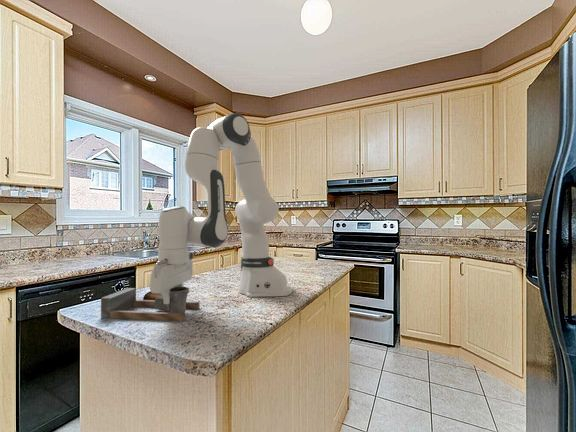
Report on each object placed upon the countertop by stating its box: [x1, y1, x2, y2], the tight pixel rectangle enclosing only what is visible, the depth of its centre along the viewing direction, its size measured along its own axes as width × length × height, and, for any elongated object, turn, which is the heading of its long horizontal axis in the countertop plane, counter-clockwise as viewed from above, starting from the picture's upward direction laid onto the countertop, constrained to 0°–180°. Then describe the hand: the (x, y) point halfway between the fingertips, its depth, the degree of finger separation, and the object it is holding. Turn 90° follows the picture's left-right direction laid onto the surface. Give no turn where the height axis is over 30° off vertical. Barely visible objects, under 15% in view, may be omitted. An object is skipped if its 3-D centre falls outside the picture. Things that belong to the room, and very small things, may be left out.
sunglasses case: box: [142, 290, 190, 300], centre depth 111 cm, size 18×7×7 cm
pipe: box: [153, 286, 190, 314], centre depth 92 cm, size 6×13×8 cm, turn 68°
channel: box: [100, 287, 200, 322], centre depth 92 cm, size 26×12×6 cm, turn 84°
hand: (172, 300), depth 91 cm, fingers closed on pipe, 5 cm apart
